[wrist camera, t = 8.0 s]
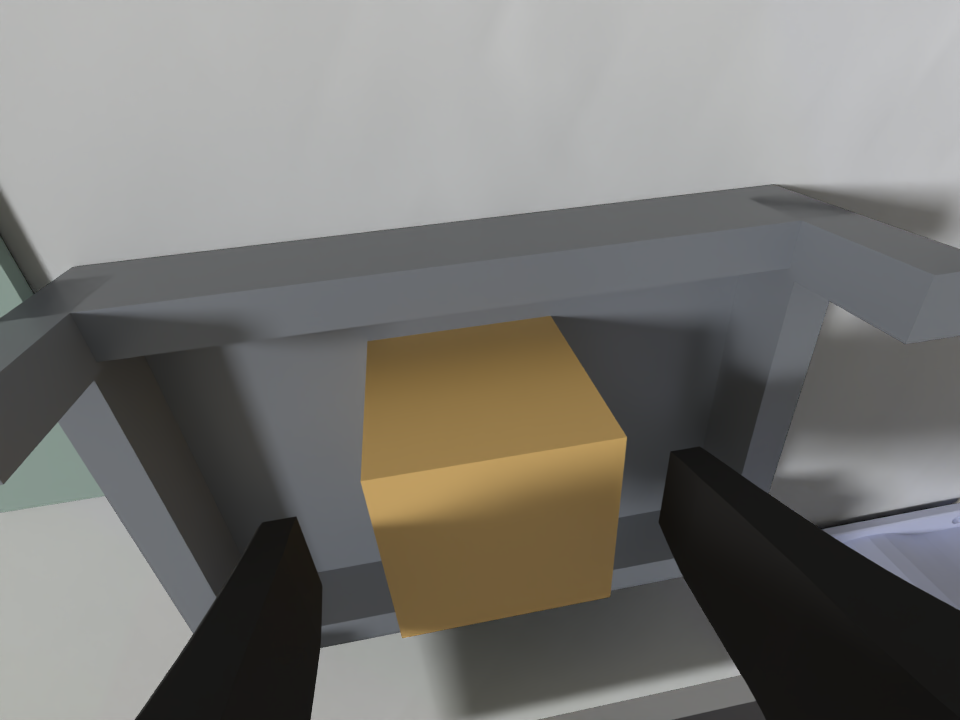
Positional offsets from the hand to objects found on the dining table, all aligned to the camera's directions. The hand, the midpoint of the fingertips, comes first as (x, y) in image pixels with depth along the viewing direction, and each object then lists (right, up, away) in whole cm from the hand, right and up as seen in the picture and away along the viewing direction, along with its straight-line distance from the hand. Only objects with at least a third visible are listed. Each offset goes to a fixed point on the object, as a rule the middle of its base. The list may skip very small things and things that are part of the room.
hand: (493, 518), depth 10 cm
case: (-1, +2, +5) cm, 5 cm away
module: (-1, +2, +3) cm, 4 cm away
